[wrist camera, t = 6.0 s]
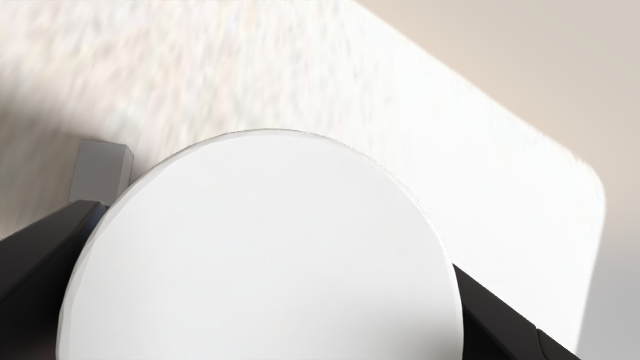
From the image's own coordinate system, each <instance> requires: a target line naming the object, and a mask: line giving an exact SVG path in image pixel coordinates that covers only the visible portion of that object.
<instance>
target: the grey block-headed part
mask: <svg viewBox="0 0 640 360" xmlns="http://www.w3.org/2000/svg"><path fill="white" fill-rule="evenodd" d="M133 158H134V155H133V153H132V152H131V150H130V149H129V148H128V146H127V145H123V144H115V143H107V142H99V141H91V140H83V139H81V142H80V146H79V151H78V156H77V160H76V165H75V170H74V174H73V179H72V184H71V188H70V193H69V198H68V202H70V203H72V202H74V201H76V200H78V199H90V200H100V201H102V202H103V204H104V208H105V213H106V212H107V211H108V209H109V208H110V207H111V206H112V205H113V203H114V202H115V201H116V200H117V199H118V198H119V197H120V196H121V194H122V193H123V192H124V191H125V190H126V189H127V188H128V186H129V180H130V174H131V169H132V163H133Z"/></svg>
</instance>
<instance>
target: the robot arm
mask: <svg viewBox="0 0 640 360" xmlns="http://www.w3.org/2000/svg"><path fill="white" fill-rule="evenodd" d="M104 214H105V208H104V204H103V202H102V201H100V200H90V199H78V200H76V201H74V202H72V203H70V204H68V205H66V206H65V207H63V208H61V209H59V210H57V211H55V212H53V213H51V214H50V215H48V216H46V217H44V218H42V219H40V220H38V221H36V222H34V223H33V224H31V225H29V226H27V227H25V228H23V229H21V230H19V231H17V232H16V233H14V234H12V235H10V236H8V237H6V238H4V239H2V240H1V241H0V360H56V340H57V331H58V322H59V313H60V310H61V306H62V303H63V299H64V296H65V292H66V289H67V286H68V283H69V280H70V277H71V274H72V271H73V269H74V266H75V264H76V262H77V260H78V258H79V256H80V254H81V252H82V250H83V248H84V246H85V244H86V242H87V240H88V238H89V237H90V235H91V233H92V232H93V230H94V229H95V227H96V226H97V224H98V222H99V221H100V219H101V218H102V217H103V215H104ZM452 265H453V268H454V271H455V274H456V279H457V284H458V289H459V294H460V299H461V304H462V318H463V352H462V360H580V359H579V358H578V357H577V356H575V355H574V354H573V353H571V352H570V351H568V350H567V349H566V348H564V347H563V346H562V345H560V344H559V343H558V342H556V341H555V340H554V339H552V338H551V337H550V336H548V335H547V334H546V333H544V332H543V331H542V330H540V329H536V326H535V325H534V324H532V323H531V322H530V321H528V320H527V319H526V318H524V317H523V316H522V315H520V314H519V313H518V312H516V311H515V310H514V309H512V308H511V307H510V306H509V305H507V304H506V303H505V302H503V301H502V300H501V299H499V298H498V297H497V296H495V295H494V294H493V293H491V292H490V291H489V290H487V289H486V288H485V287H483V286H482V285H481V284H479V283H478V282H477V281H475V280H474V279H473V278H471V277H470V276H469V275H468V274H466V273H465V272H464V271H462V270H461V269H460V268H458V267H457V266H456V265H454V264H453V263H452Z"/></svg>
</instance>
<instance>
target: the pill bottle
mask: <svg viewBox="0 0 640 360" xmlns="http://www.w3.org/2000/svg"><path fill="white" fill-rule="evenodd" d="M462 352H463V318H462V304H461V299H460V294H459V289H458V284H457V279H456V274H455V271H454V268H453V265H452V262H451V260H450V257H449V255H448V252H447V250H446V248H445V246H444V243H443V241H442V239H441V237H440V235H439V233H438V231H437V229H436V228H435V226H434V224H433V222H432V221H431V219H430V217H429V215H428V214H427V212H426V211H425V210H424V208H423V207H422V206H421V204H420V203H419V202H418V201H417V199H416V198H415V197H414V195H413V194H412V193H411V192H410V191H409V190H408V189H407V188H406V187H405V186H404V185H403V184H402V183H401V182H400V181H399V180H398V179H397V178H396V177H395V176H394V175H392V174H391V173H390V172H389V171H387V170H386V169H385V168H383V167H382V166H381V165H380V164H378V163H377V162H376V161H374V160H373V159H371V158H370V157H368V156H367V155H365V154H363V153H361V152H359V151H357V150H355V149H353V148H351V147H349V146H347V145H345V144H343V143H340V142H338V141H335V140H333V139H330V138H327V137H324V136H321V135H317V134H312V133H307V132H302V131H297V130H289V129H254V130H245V131H238V132H232V133H225V134H222V135H219V136H216V137H213V138H210V139H207V140H204V141H201V142H198V143H196V144H193V145H190V146H188V147H186V148H184V149H182V150H181V151H179V152H177V153H175V154H173V155H171V156H169V157H168V158H166V159H165V160H163V161H162V162H160V163H158V164H157V165H155V166H154V167H152V168H151V169H149V170H148V171H147V172H146V173H144V174H143V175H142V176H141V177H140V178H139V179H137V180H136V181H135V182H134V183H133V184H132V185H130V186H129V187H128V188H127V189H126V190H125V191H124V192H123V193H122V194H121V196H120V197H119V198H118V199H117V200H116V201H115V202H114V203H113V205H112V206H111V207H110V208H109V209H108V211H107V212H106V213H105V214H104V215H103V217H102V218H101V219H100V221H99V222H98V224H97V226H96V227H95V229H94V230H93V232H92V233H91V235H90V237H89V238H88V240H87V242H86V244H85V246H84V248H83V250H82V252H81V254H80V256H79V258H78V260H77V262H76V264H75V266H74V269H73V271H72V274H71V277H70V280H69V283H68V286H67V289H66V292H65V296H64V299H63V303H62V306H61V310H60V313H59V322H58V331H57V340H56V360H462Z"/></svg>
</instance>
